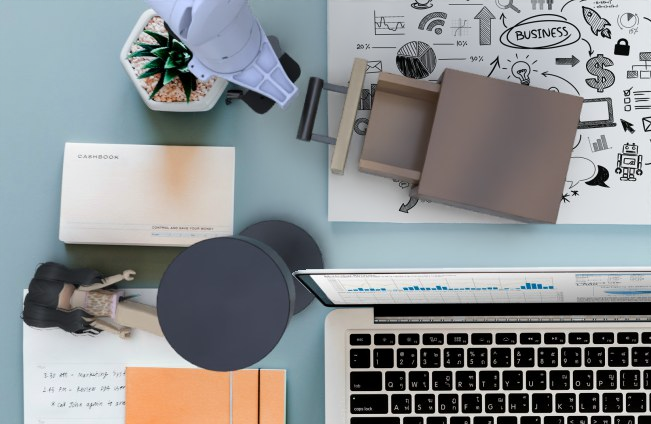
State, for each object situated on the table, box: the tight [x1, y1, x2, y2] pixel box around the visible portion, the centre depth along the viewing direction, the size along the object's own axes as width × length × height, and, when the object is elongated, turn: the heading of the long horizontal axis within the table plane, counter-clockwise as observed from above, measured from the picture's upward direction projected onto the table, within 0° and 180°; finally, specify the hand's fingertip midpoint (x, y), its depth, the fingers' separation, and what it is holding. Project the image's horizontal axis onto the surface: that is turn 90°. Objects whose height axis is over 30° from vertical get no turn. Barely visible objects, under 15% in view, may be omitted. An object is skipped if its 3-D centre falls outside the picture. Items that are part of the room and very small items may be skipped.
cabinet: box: [408, 67, 585, 225], centre depth 61 cm, size 13×12×8 cm
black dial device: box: [224, 34, 284, 106], centre depth 65 cm, size 5×7×3 cm, turn 108°
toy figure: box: [19, 261, 165, 340], centre depth 64 cm, size 7×6×15 cm
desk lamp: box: [155, 219, 325, 373], centre depth 52 cm, size 10×10×28 cm
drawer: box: [295, 57, 441, 185], centre depth 62 cm, size 15×10×6 cm
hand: (244, 65), depth 63 cm, fingers open, 7 cm apart
